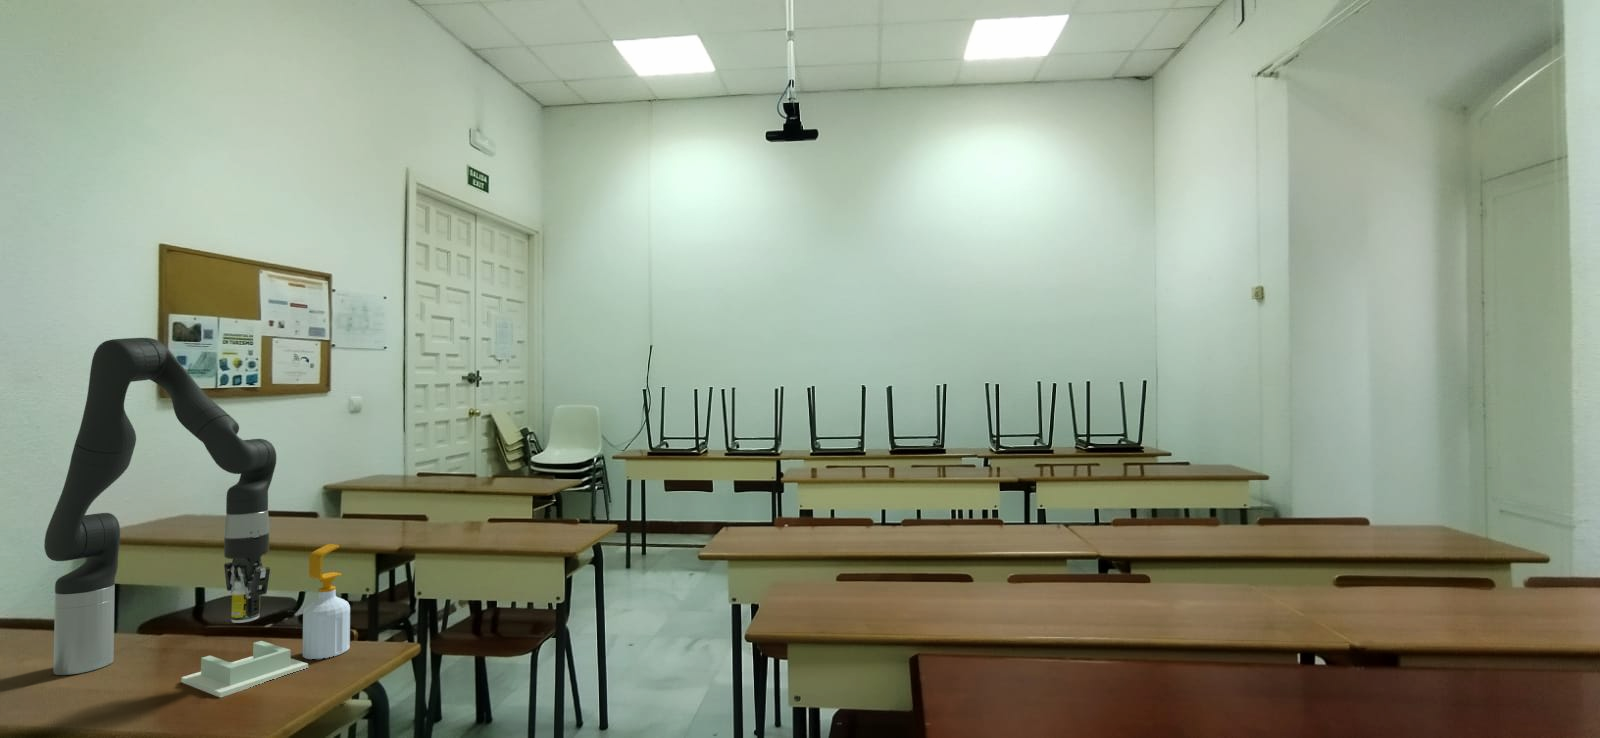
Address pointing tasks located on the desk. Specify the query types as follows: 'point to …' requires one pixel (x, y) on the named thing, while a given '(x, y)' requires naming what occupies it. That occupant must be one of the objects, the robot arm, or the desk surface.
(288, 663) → the u rest
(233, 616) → the supplement bottle
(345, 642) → the soap bottle
